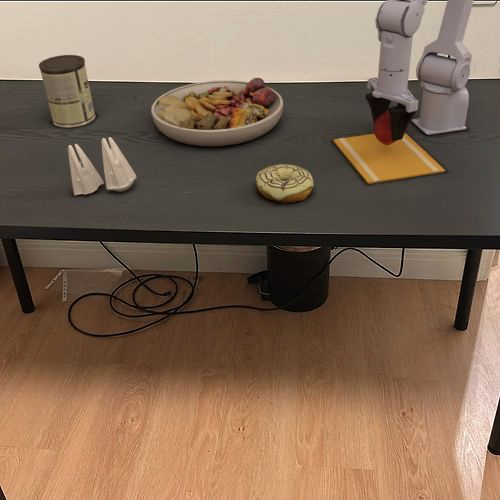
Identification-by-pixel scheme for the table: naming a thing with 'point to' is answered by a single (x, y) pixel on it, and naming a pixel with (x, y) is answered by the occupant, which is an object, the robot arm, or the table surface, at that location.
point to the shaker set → (88, 178)
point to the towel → (387, 158)
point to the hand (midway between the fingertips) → (388, 133)
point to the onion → (383, 129)
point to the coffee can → (67, 90)
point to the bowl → (218, 112)
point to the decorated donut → (284, 183)
